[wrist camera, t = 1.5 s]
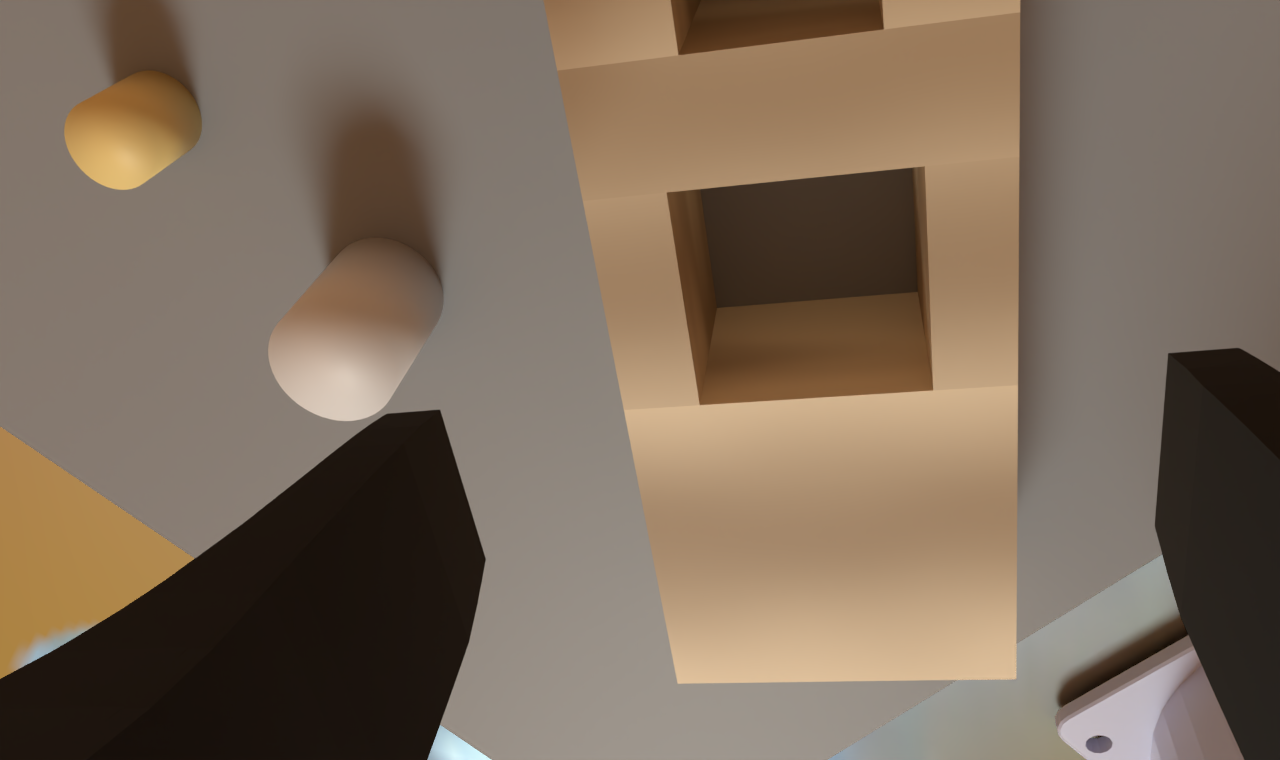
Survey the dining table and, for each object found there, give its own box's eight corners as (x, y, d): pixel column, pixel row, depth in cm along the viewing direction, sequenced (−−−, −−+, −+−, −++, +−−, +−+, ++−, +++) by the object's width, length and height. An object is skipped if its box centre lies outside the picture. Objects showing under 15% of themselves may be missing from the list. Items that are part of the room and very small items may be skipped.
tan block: (992, 556, 20) (1016, 678, 18) (695, 566, 21) (677, 683, 19) (985, -364, 13) (1022, -379, 11) (547, -281, 15) (488, -276, 12)
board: (1609, 200, 17) (1802, 324, 14) (659, 813, 27) (636, 970, 24) (466, -1185, 12) (320, -1547, 8) (-184, 227, 22) (-368, 323, 19)
